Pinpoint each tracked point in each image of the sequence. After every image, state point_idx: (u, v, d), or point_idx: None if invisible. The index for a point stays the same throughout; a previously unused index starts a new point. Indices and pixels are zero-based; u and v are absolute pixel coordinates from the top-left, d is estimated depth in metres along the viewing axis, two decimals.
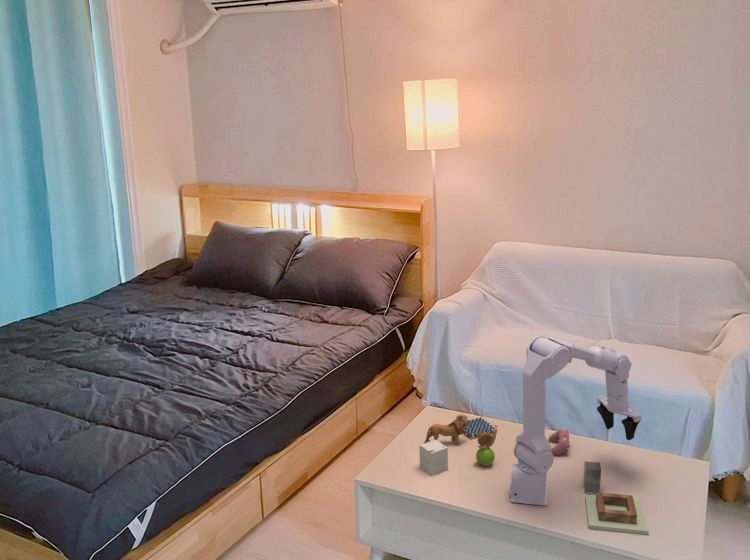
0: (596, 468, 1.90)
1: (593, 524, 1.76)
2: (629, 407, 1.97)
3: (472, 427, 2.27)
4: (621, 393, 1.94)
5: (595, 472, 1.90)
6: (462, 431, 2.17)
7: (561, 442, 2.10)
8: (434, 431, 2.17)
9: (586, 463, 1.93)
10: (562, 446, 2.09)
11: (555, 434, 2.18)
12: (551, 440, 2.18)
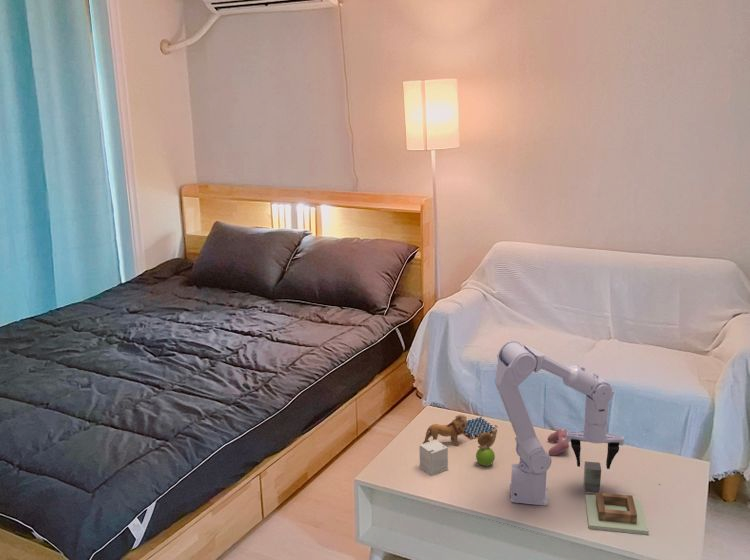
0: (596, 468, 1.90)
1: (593, 524, 1.76)
2: None
3: (472, 427, 2.27)
4: (597, 422, 1.85)
5: (595, 472, 1.90)
6: (461, 431, 2.17)
7: (560, 442, 2.10)
8: (433, 431, 2.17)
9: (586, 463, 1.93)
10: (561, 446, 2.09)
11: (554, 434, 2.18)
12: (550, 440, 2.18)
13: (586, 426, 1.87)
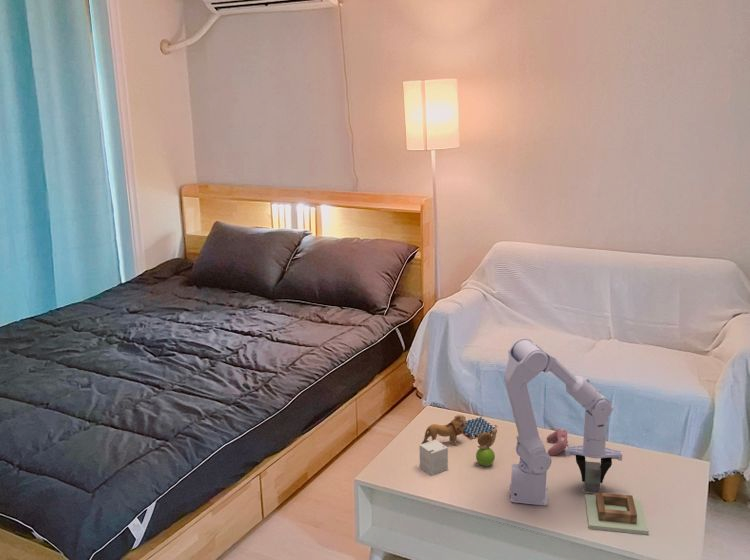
0: (596, 468, 1.90)
1: (593, 524, 1.76)
2: None
3: (472, 427, 2.27)
4: (596, 437, 1.86)
5: (595, 472, 1.90)
6: (460, 431, 2.17)
7: (559, 442, 2.10)
8: (432, 431, 2.17)
9: (586, 463, 1.93)
10: (560, 446, 2.09)
11: (553, 434, 2.18)
12: (549, 440, 2.18)
13: (585, 441, 1.89)
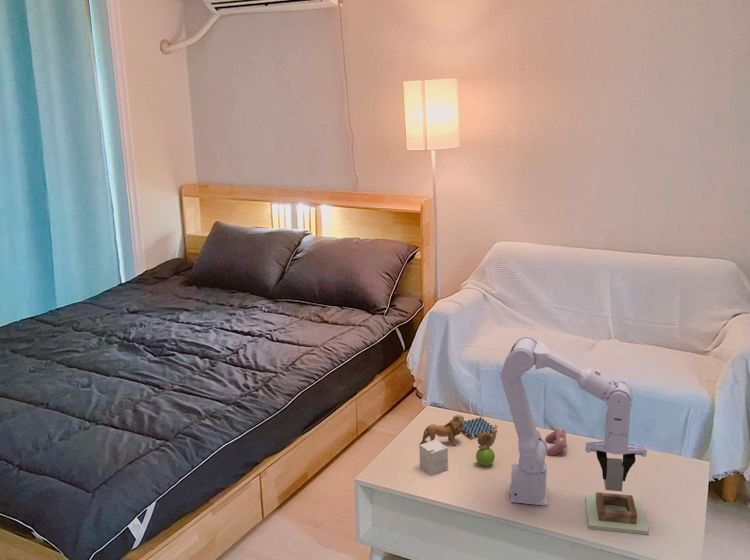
0: (618, 465, 1.78)
1: (593, 524, 1.76)
2: None
3: (472, 427, 2.27)
4: (612, 430, 1.75)
5: (617, 468, 1.78)
6: (458, 431, 2.17)
7: (558, 442, 2.10)
8: (430, 432, 2.17)
9: (607, 459, 1.81)
10: (559, 446, 2.09)
11: (552, 434, 2.18)
12: (548, 440, 2.18)
13: (607, 436, 1.76)
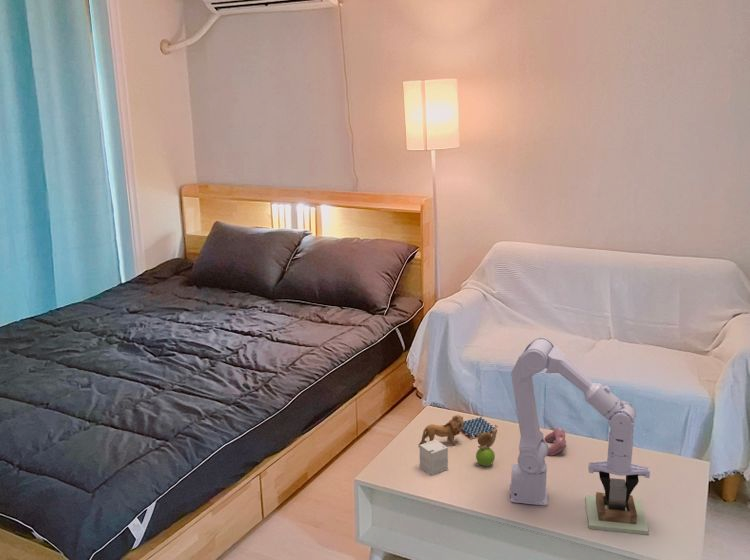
0: (621, 485, 1.77)
1: (593, 524, 1.76)
2: None
3: (472, 427, 2.27)
4: (614, 451, 1.74)
5: (620, 489, 1.77)
6: (458, 432, 2.17)
7: (557, 442, 2.10)
8: (430, 432, 2.16)
9: (610, 480, 1.80)
10: (558, 446, 2.09)
11: (551, 434, 2.18)
12: (547, 440, 2.18)
13: (610, 457, 1.76)
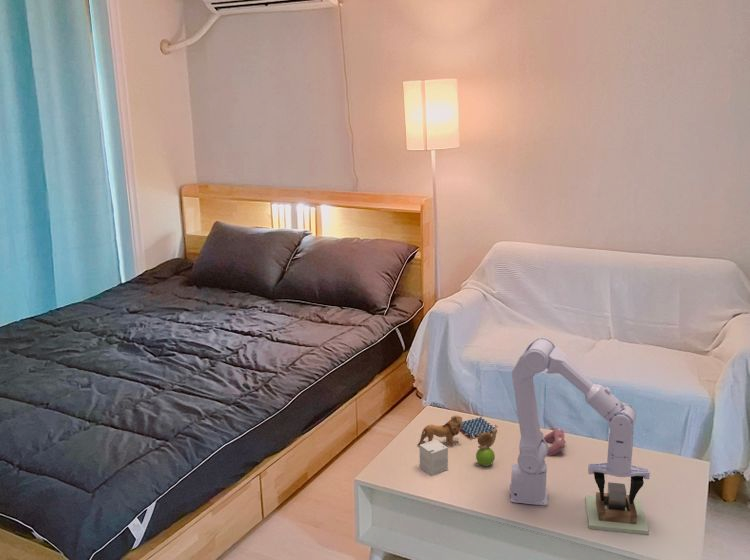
0: (621, 490, 1.78)
1: (593, 524, 1.76)
2: None
3: (472, 427, 2.27)
4: (614, 453, 1.74)
5: (619, 494, 1.77)
6: (456, 432, 2.17)
7: (556, 442, 2.10)
8: (428, 432, 2.16)
9: (610, 484, 1.80)
10: (557, 446, 2.09)
11: (550, 434, 2.18)
12: (546, 440, 2.18)
13: (610, 458, 1.76)
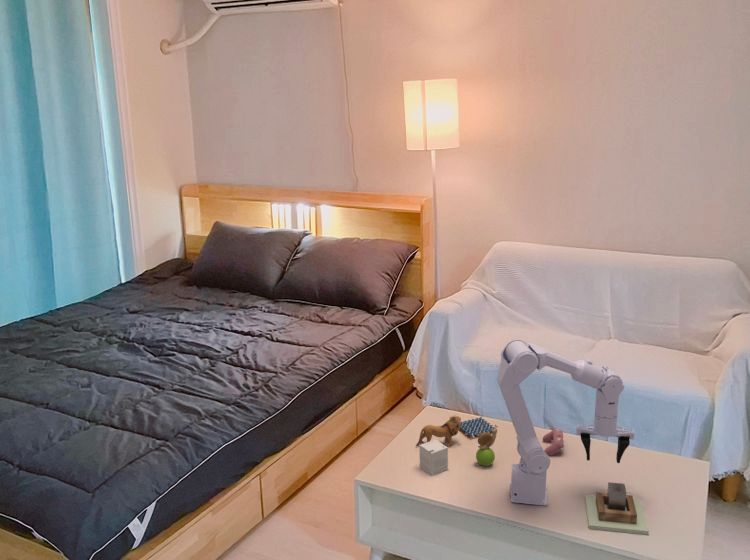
0: (621, 490, 1.78)
1: (593, 524, 1.76)
2: None
3: (472, 427, 2.27)
4: (606, 415, 1.83)
5: (619, 494, 1.77)
6: (455, 432, 2.17)
7: (555, 442, 2.10)
8: (427, 432, 2.16)
9: (610, 484, 1.80)
10: (556, 446, 2.09)
11: (549, 434, 2.18)
12: (545, 440, 2.18)
13: (596, 419, 1.85)
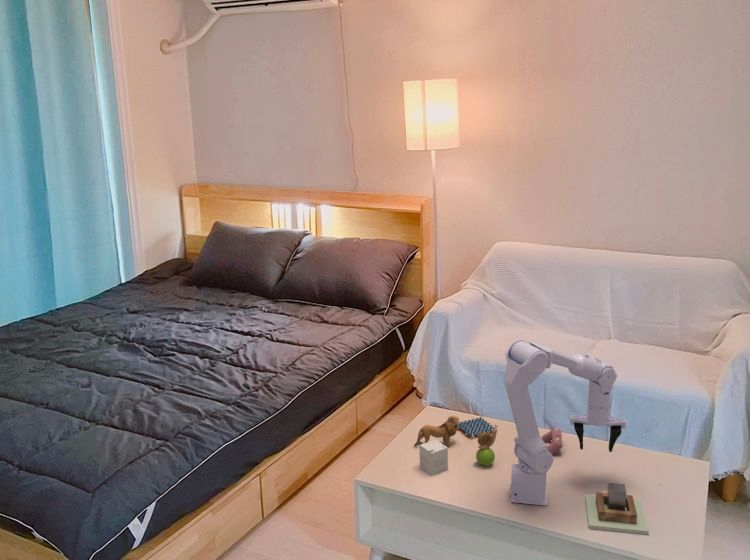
0: (621, 490, 1.78)
1: (593, 524, 1.76)
2: None
3: (472, 427, 2.27)
4: (602, 405, 1.89)
5: (619, 494, 1.77)
6: (453, 432, 2.16)
7: (554, 442, 2.10)
8: (425, 432, 2.16)
9: (610, 484, 1.80)
10: (555, 446, 2.09)
11: (548, 434, 2.18)
12: (544, 440, 2.18)
13: (589, 409, 1.91)
